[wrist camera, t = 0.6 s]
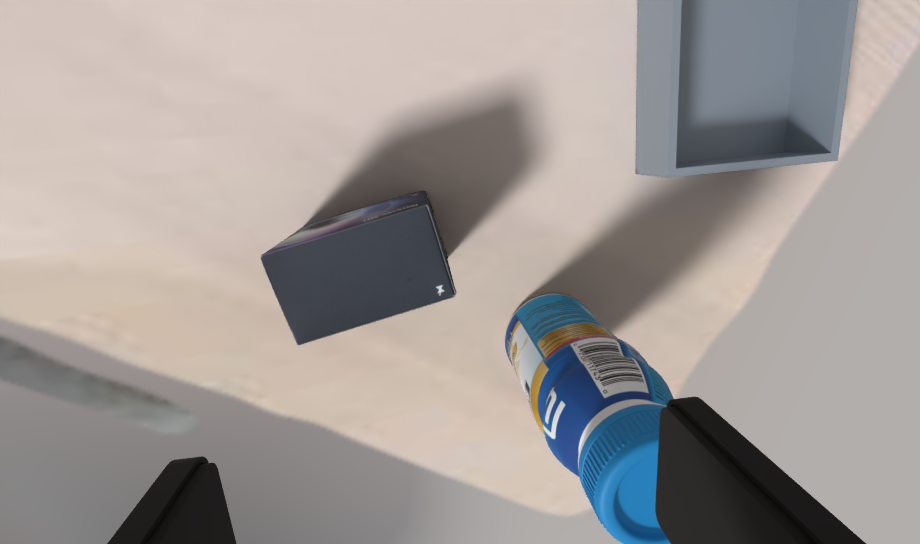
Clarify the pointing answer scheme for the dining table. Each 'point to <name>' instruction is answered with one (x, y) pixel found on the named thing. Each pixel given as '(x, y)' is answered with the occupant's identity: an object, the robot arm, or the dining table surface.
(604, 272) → the dining table surface
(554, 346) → the beverage bottle
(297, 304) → the small box
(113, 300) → the dining table surface
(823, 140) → the tote
